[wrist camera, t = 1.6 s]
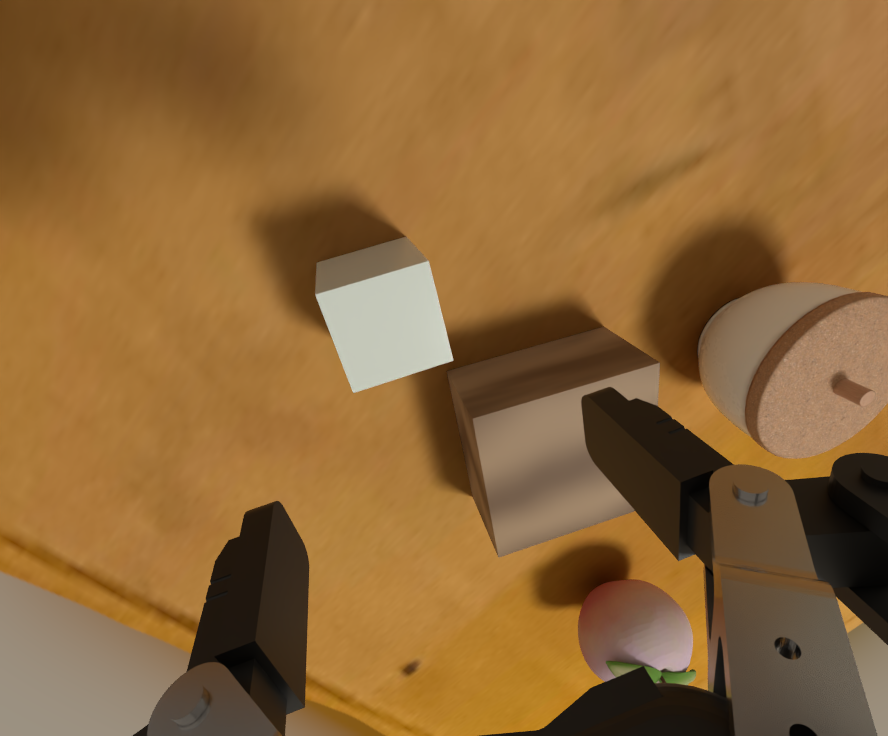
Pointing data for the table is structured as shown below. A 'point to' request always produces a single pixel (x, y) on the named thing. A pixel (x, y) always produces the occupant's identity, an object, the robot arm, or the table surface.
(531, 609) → the table surface
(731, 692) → the robot arm
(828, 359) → the lidded jar
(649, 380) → the walnut block
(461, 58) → the table surface
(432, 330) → the off-white cube
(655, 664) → the decorative fruit
